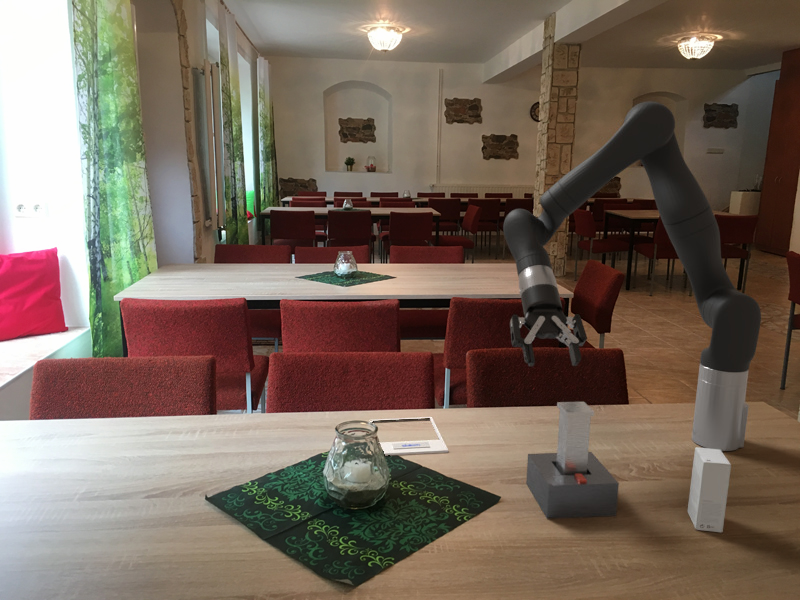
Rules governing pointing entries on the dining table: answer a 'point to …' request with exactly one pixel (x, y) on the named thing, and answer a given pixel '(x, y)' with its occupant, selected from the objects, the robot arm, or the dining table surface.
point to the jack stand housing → (571, 488)
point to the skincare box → (709, 489)
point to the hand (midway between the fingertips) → (554, 364)
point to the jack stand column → (573, 437)
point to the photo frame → (414, 443)
